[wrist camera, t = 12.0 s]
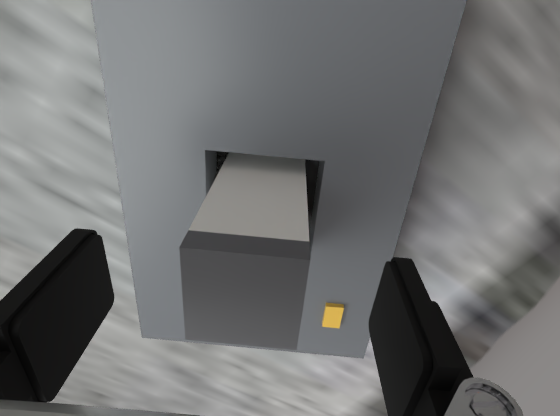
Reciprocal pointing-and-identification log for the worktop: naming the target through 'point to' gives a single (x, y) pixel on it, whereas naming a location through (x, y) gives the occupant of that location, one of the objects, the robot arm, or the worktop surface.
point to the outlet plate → (273, 133)
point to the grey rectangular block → (248, 255)
